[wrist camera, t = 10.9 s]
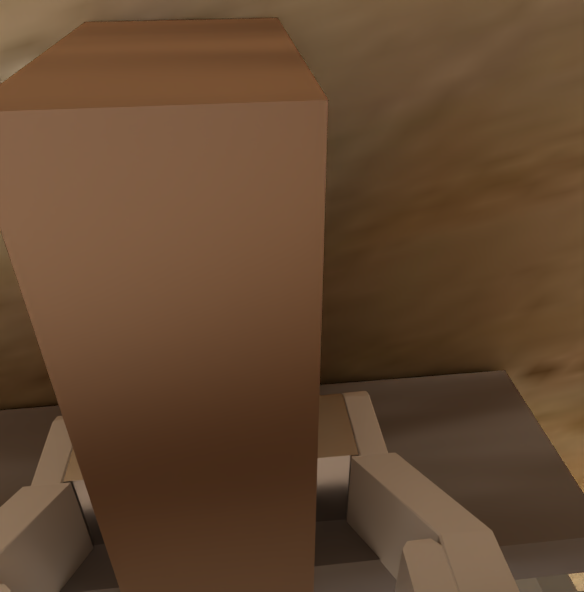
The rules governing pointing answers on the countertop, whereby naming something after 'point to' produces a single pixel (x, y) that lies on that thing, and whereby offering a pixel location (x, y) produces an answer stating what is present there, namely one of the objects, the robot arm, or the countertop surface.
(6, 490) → the scraper
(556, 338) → the countertop surface
